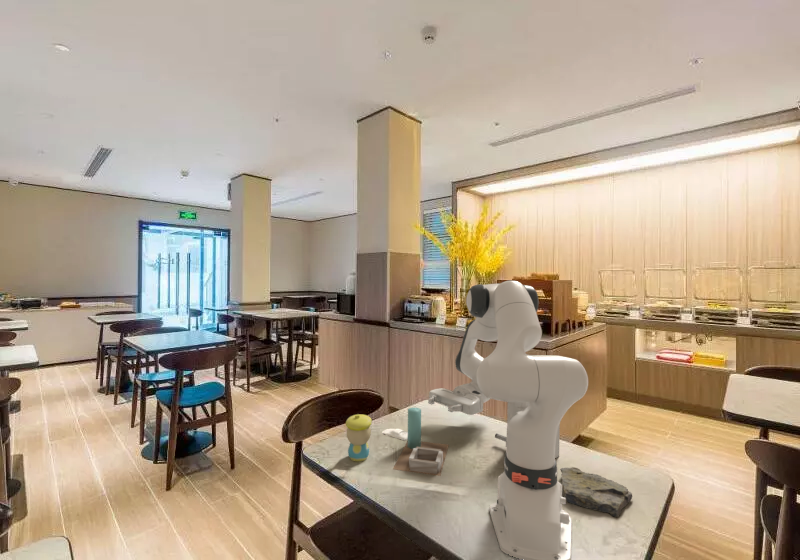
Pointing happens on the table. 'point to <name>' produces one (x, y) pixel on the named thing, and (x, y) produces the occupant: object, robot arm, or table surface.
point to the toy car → (396, 433)
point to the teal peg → (414, 428)
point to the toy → (358, 436)
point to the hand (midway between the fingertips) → (439, 405)
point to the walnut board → (423, 458)
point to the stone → (594, 491)
